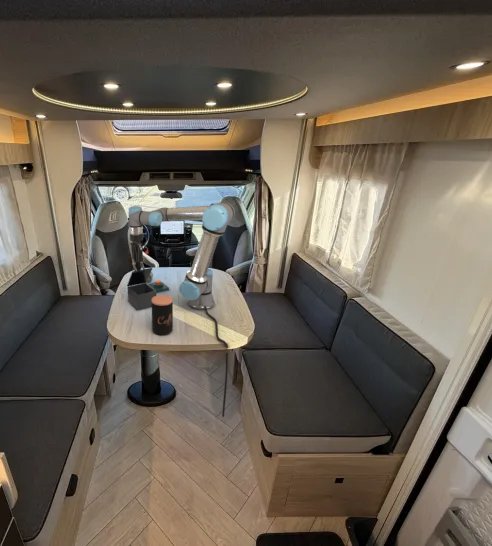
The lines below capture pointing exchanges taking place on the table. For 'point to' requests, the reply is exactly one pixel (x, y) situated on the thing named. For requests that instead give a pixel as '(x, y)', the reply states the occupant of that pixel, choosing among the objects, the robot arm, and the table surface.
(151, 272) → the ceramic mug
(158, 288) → the control block
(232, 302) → the table surface
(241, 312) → the table surface
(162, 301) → the coffee jar
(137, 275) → the box lid
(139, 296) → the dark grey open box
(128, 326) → the table surface
